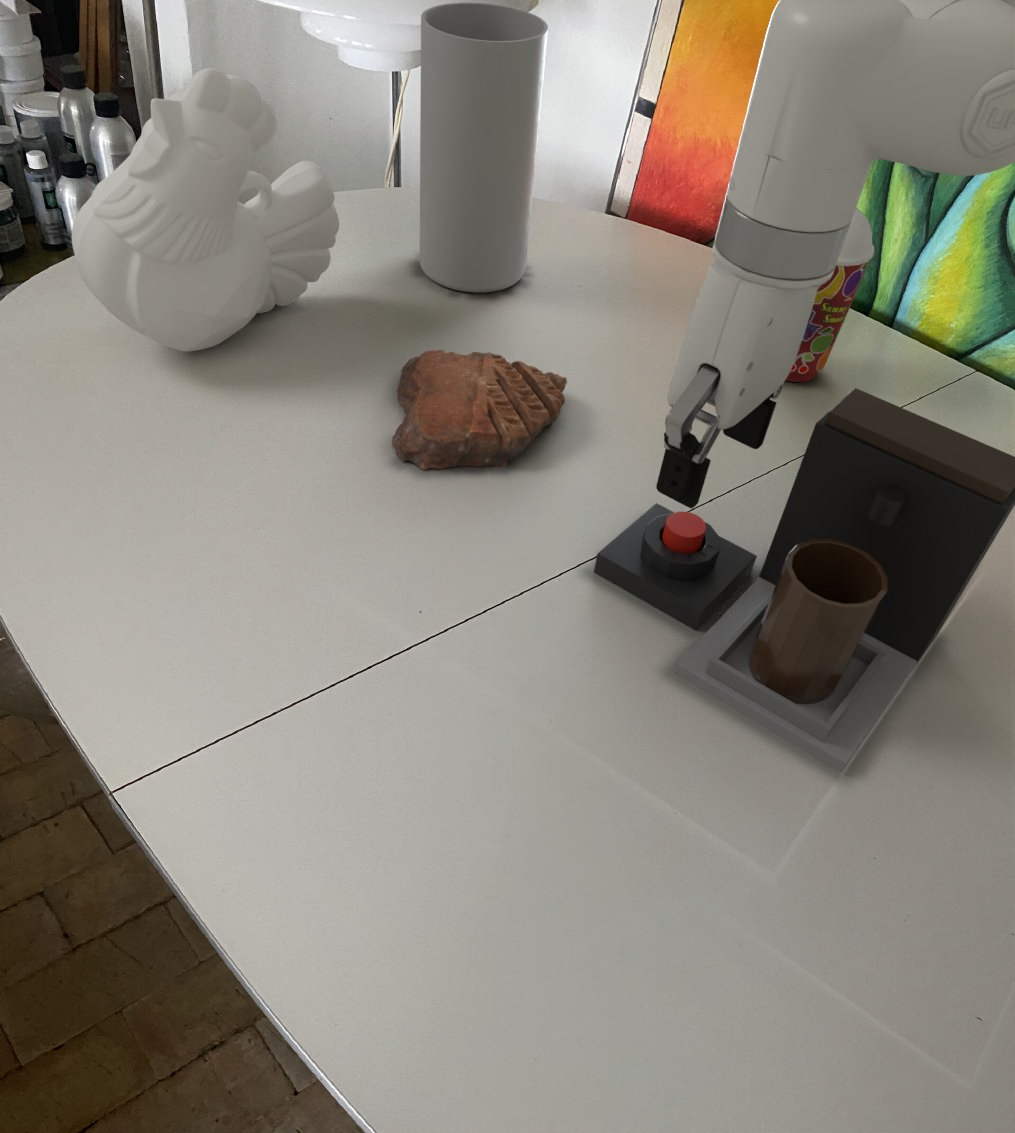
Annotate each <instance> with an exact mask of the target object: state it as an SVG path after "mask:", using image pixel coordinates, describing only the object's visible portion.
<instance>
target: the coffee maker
mask: <svg viewBox="0 0 1015 1133" xmlns="http://www.w3.org/2000/svg"><path fill="white" fill-rule="evenodd" d="M1014 508H1015V456H1014V455H1013V454H1012V455H1011V454H1010V453H1007V452H1006V451H1002V450H1000V449H998V448H996V447H994V446H991V445H988V444H986V443H984V442H982V441H980V440H977V439H975V438H972V437H970V436H968V435H967V434H966V435H965V434H963V433H961V432H958V431H956V430H954V429H951V428H949V427H947V426H945V425H942V424H940V423H937V422H935V421H934V420H931V419H929V418H927V417H924V416H921V415H919V414H917V413H915V412H912V411H910V410H907V409H905V408H903V407H902V406H898V405H896V404H893V403H891V402H889V401H887V400H884V399H882V398H880V397H877V396H875V395H873V394H871V393H869V392H866V391H864V390H861V389H859V388H857V387H854V388H853V389H852V390H851V391H849V393H847V394H846V395H845V396H843V397H842V398H841V399H840V400H839V401H838V402H837V403H836V404H835V405H834V406H833V407H832V408H830V410H829V411H828V412H826V413H825V414H824V415H822V417H821V418H820V419H819V420H818V421H816V423H815V425H814V428H813V430H812V432H811V436H810V438H809V441H808V443H807V447H806V449H805V451H804V454H803V457H802V459H801V463H800V465H799V468H798V470H797V473H796V475H795V478H794V481H793V484H792V487H791V488H790V492H789V495H788V498H787V500H786V503H785V506H784V509H783V511H782V514H781V517H780V519H779V522H778V525H777V527H776V530H775V533H774V536H773V538H772V540H771V544H770V546H769V548H768V552H767V554H766V557H765V560H764V563H763V565H762V568H761V570H760V573H759V576H758V577H757V578H756V579H755V580H754V581H753V582H752V583H751V585H749V587H748V588H747V589H745V591H744V592H743V593H742V594H741V595H740V596H739V597H738V598H737V599H736V600H735V601H734V603H732V604H731V606H730V607H729V608H728V609H727V610H726V611H725V612H724V613H723V614H722V615H721V616H720V618H718V619H717V620H716V621H715V622H714V624H713V625H712V626H711V627H709V629H708V630H706V632H705V633H704V634H703V635H702V636H701V637H700V638H699V639H698V640H697V641H696V642H695V644H693V646H692V647H691V648H690V649H689V650H688V651H687V652H686V653H685V654H684V655H683V656H682V657H681V658H680V659H679V661H678V662H677V663H676V666H675V668H674V674H675V675H677V676H678V677H680V678H682V679H684V680H685V681H687V682H688V683H690V684H691V685H693V686H695V687H697V688H698V689H700V690H702V691H704V692H705V693H706V694H708V695H711V697H714V698H715V699H717V700H718V701H720V702H722V703H723V704H725V705H727V706H728V707H729V708H732V709H733V710H735V711H737V712H739V713H741V714H742V715H744V716H746V717H747V718H748V719H750V720H752V721H754V722H756V723H757V724H759V725H761V726H762V727H764V728H765V729H767V730H768V731H771V732H772V733H774V734H776V735H777V736H779V737H780V738H782V739H784V740H786V741H787V742H789V743H791V744H792V745H794V746H795V747H798V748H799V749H800V750H802V751H804V752H806V753H807V754H809V755H811V756H812V757H814V758H816V759H818V760H819V761H821V762H822V763H824V764H826V765H828V766H829V767H831V768H833V769H834V770H836V771H837V772H839V773H843V771H844V770H845V768H846V767H847V766H848V764H850V761H851V760H852V758H853V757H854V756H855V754H856V753H857V751H858V750H859V748H860V747H861V746H862V745H863V743H864V741H866V738H867V737H868V735H869V734H870V732H871V731H872V730H873V728H874V727H875V725H876V724H877V723H878V721H879V720H880V718H881V717H882V715H883V714H884V713H885V711H886V709H887V708H888V707H889V705H890V704H891V702H892V701H893V699H894V698H895V697H896V695H897V694H898V692H899V691H900V689H901V688H902V687H903V685H904V684H905V683H906V681H907V679H908V678H909V677H910V675H911V674H912V672H913V671H914V669H915V668H916V666H917V665H918V663H919V662H920V661H921V660H922V658H923V657H924V655H925V653H926V652H927V651H928V649H929V648H930V646H931V645H932V643H934V641H935V639H936V638H937V636H938V634H939V633H940V631H941V630H942V628H943V626H944V624H945V623H946V622H947V619H948V618H949V616H950V614H951V613H952V611H953V609H954V608H955V606H956V604H957V603H958V601H959V600H960V598H961V596H962V595H963V593H964V591H965V589H966V587H967V586H968V585H969V582H970V581H971V580H972V577H973V576H974V574H975V572H976V571H977V570H978V568H979V566H980V564H981V562H982V561H983V559H984V558H985V556H986V554H987V552H988V551H989V549H990V548H991V546H992V544H993V542H994V541H995V540H996V537H997V536H998V534H999V533H1000V531H1001V529H1002V528H1003V526H1004V524H1005V523H1006V521H1007V519H1008V518H1009V516H1010V514H1011V513H1012V511H1013V509H1014ZM812 539H832V540H836V541H841V542H845V543H849V544H851V545H853V546H855V547H857V548H859V549H861V550H863V551H865V552H867V553H868V554H869V555H871V556H872V557H873V558H874V559H875V560H876V561H877V562H878V563H880V565H881V566H882V568H883V570H884V572H885V574H886V575H887V577H888V591H887V593H886V595H885V597H884V599H883V601H882V603H881V605H880V607H879V609H878V610H877V612H876V614H875V616H874V618H873V620H872V622H871V624H870V626H869V628H868V630H867V632H866V634H865V636H864V638H863V640H862V641H861V643H860V645H859V647H858V649H857V651H856V653H855V655H854V657H853V659H852V661H851V663H850V665H849V667H848V669H847V671H846V672H845V674H844V676H843V678H842V680H841V682H840V684H839V685H838V686H837V688H836V690H835V692H834V693H833V694H832V695H831V696H830V697H828V698H827V699H825V700H823V701H821V702H818V703H813V704H796V703H793V702H791V701H790V700H788V699H786V698H785V697H783V696H781V695H779V694H778V693H776V692H774V691H772V690H771V689H769V688H767V687H766V686H764V685H762V684H760V683H759V682H757V681H755V679H754V678H753V676H752V674H751V672H750V669H749V663H748V660H749V655H750V652H751V647H752V645H753V642H754V640H755V637H756V634H757V632H758V629H759V627H760V624H761V622H762V619H763V617H764V614H765V611H766V609H767V606H768V604H769V601H770V599H771V596H772V594H773V591H774V588H775V586H776V583H777V581H778V578H779V576H780V573H781V571H782V568H783V566H784V563H785V560H786V558H787V555H788V554H789V552H790V551H791V550H792V549H793V548H794V547H795V546H796V545H797V544H800V543H803V542H806V541H808V540H812Z"/></svg>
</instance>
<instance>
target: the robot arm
mask: <svg viewBox="0 0 1015 1133" xmlns="http://www.w3.org/2000/svg"><path fill="white" fill-rule="evenodd" d="M757 64H758V65H757V69H756V73H755V77H754V80H753V84H752V89H751V92H750V97H749V101H748V105H747V108H746V112H745V113H746V114H745V116H744V121H743V125H742V129H741V133H740V138H739V141H738V145H737V149H736V153H735V156H734V161H733V164H732V165H733V166H732V170H731V173H730V177H729V180H728V185H727V190H726V194H725V197H724V201H723V205H722V209H721V213H720V216H719V219H718V220H719V221H718V225H717V229H716V232H715V236H714V241H713V245H712V249H711V251H712V255H713V257H714V262H712V263H711V265H710V267H709V270H708V271H707V272H708V273H707V274H706V277H705V279H704V281H703V284H702V286H701V288H700V291H699V294H698V295H697V299H696V301H695V304H694V307H693V310H692V313H691V316H690V318H689V322H688V324H687V328H686V331H685V334H684V338H683V340H682V344H681V348H680V349H679V354H678V357H677V360H676V364H675V368H674V370H673V375H672V378H671V382H670V384H669V389H668V393H667V403H668V406H669V407H671V408H670V410H669V411H668V413H667V414H666V416H665V420H664V426H665V432H664V433H663V437H664V438H663V441H664V444H663V447H664V454H663V458H662V461H661V465H660V469H659V474H658V477H657V481H656V486H655V488H656V490H657V492H659V493H660V494H662V495H664V496H666V497H667V498H669V499H672V501H675V502H677V503H679V504H681V505H683V506H685V507H687V508H689V509H694V508H695V507H696V506H697V505H698V504H699V501H700V497H701V495H702V491H703V488H704V485H705V481H706V477H707V474H708V471H709V468H710V465H711V462H712V459H710V458H708V457H707V456H708V454H709V453H710V451H711V450H712V448H713V446H714V444H715V442H716V440H717V438H718V437H719V435H720V433H721V431H722V433H723V435H724V436H726V437H727V438H730V439H733V440H734V441H736V442H738V443H741V444H743V445H744V446H747V447H749V448H751V449H753V450H758V449H760V448H761V447H762V446H763V444H764V441H765V438H766V435H767V432H768V429H769V426H770V424H771V421H772V419H773V415H774V412H775V409H776V406H777V403H778V402H777V401H775V400H777V399H778V398H779V397H780V395H781V393H782V391H783V388H784V382H785V381H786V380H785V379H786V378H787V376H788V375H789V373H790V371H791V368H792V366H793V364H794V361H795V359H796V356H797V353H798V351H799V348H800V345H801V342H802V339H803V336H804V333H805V330H806V327H807V324H808V321H809V317H810V314H811V311H812V307H813V304H814V300H815V297H816V293H817V290H818V286H820V285H822V284H824V283H826V282H827V281H828V280H830V279H831V277H832V275H833V273H834V270H835V267H836V264H837V261H838V258H839V255H840V252H841V250H842V247H843V244H844V241H845V238H846V235H847V233H848V230H849V227H850V224H851V221H852V218H853V215H854V212H855V210H856V208H858V204H859V201H860V198H861V195H862V193H863V190H864V188H865V183H866V181H867V178H868V175H869V173H870V170H871V168H872V165H873V162H874V161H876V160H884V161H888V162H893V163H897V164H901V165H904V166H905V165H906V166H910V167H914V168H917V169H921V170H925V171H929V172H933V173H938V174H942V175H949V176H959V177H970V176H978V175H984V174H989V173H992V172H996V171H999V170H1001V169H1003V168H1006V167H1008V166H1010V165H1012V164H1014V163H1015V0H778V2H777V3H776V6H774V9H773V11H772V13H771V16H770V20H769V23H768V26H767V30H766V33H765V37H764V41H763V45H762V49H761V52H760V57H759V61H758V63H757ZM706 403H707V404H709V405H711V406H713V407H715V408H714V409H715V414H716V415H714V414H712V413H709V412H708V411H705V410H704V409H703V408H704V407H705V405H706ZM695 420H697V421H698V422H700V423H703V424H704V425H707V426H708V427H707V429H706V430H705V432H704V434H703V436H702V438H701V439H700V441H699V439H698V438H697V437H696V435H695V434H692V433H691V431H692V430H693V424H694V421H695Z"/></svg>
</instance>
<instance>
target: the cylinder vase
mask: <svg viewBox="0 0 1015 1133" xmlns="http://www.w3.org/2000/svg"><path fill="white" fill-rule="evenodd" d="M548 31H549V26H548V24H547V22H546V21H545V20H544V19H543V18H541V17H540V16H538V15H536V14H534V13H532V12H529V11H527V10H523V9H520V8H517V7H512V6H509V5H508V6H507V5H503V4H495V3H489V2H488V3H485V2H450V3H443V4H438V5H434V6H431V7H429V8H427V9H425V10H424V11H423V12H422V13H421V15H420V117H419V118H420V120H419V122H420V124H419V126H420V127H419V129H420V130H419V141H420V142H419V264H420V267H421V270H422V271H423V273H424V274H425V275H426V276H427V277H428V278H429V279H430V280H432V281H433V282H435V283H437V284H438V285H440V286H443V287H445V288H447V289H448V288H449V289H450V290H455V291H459V292H464V293H465V292H466V293H491V292H492V293H493V292H498V291H501V290H505V289H508V288H510V287H512V286H513V285H515V284H517V283H518V282H519V281H520V280H521V279H522V278H523V276H524V275H525V272H526V269H527V260H528V248H529V238H530V230H531V229H530V228H531V227H530V226H531V219H532V218H531V217H532V207H533V206H532V205H533V197H534V196H533V194H534V185H535V175H536V174H535V172H536V163H537V162H536V161H537V150H538V140H539V139H538V138H539V129H540V118H541V107H542V98H543V88H544V85H543V84H544V76H545V75H544V74H545V65H546V64H545V63H546V54H547V42H548Z"/></svg>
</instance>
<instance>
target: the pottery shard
mask: <svg viewBox="0 0 1015 1133" xmlns="http://www.w3.org/2000/svg"><path fill="white" fill-rule="evenodd" d="M400 372H401V374H400V377H399V384H398V387H397V389H396V393H397V400H398V404H399V405H400V406H401V407H402V410H403V412H404V414H405V415H404V418H403V420H402V421H401V423H400V424H399V425H398V427H397V428H396V429H395V432H394V435H393V436H392V438H391V446H392V448H393V449H394V450H395V455H396V456H398V459H400V461H402V462H407V461H408V462H411V463H413V464H414V465H416V466H417V467H418V468H419V469H420V470H422V471H428V470H429V469H436V470H444V469H446V468H455V467H457V466H464V467H477V468H480V467H487V466H488V467H489V466H497V467H501V468H503V467H507V465H508V462H509V460H511V459H515V458H517V457H518V456H519V455H521V454H523V452H524V451H525V450H526V449H527V448H528V447H529V446H530V445H531V444H532V443H533V441H534V438H536V437H538V435H539V434H541V432H542V431H543V428H545V427H546V426H548V425H552V424H553V423H554V422H555V421H556V420H557V417H558V415H559V414H560V413H561V411H562V408H563V406H564V405H565V403H566V399H565V398H566V397H565V395H564V394H563V392H564V391H565V389H566V386H567V384H568V378H567V377H566V376H561V375H559V374H558V373H556V374H555V373H554V372H551V371H549V372H545V373H543V371H542V370H540V369H539V368H538V367H536V366H533V365H527V364H526V363H524V362H523V361H521V360H516V361H513V362H511V363H510V362H509V361H507V360H506V358H505V357H503V356H502V355H501V354H495V353H493V352H485V353H484V352H478V351H472V352H470V353H468V354H462V353H457V352H454V351H450V352H446V351H445V350H443V349H438V350H437V349H436V350H435V349H432V350H426V351H424V352H422V354H420V355H419V356H415V357H412V358H410V359H409V360H408V361H407V362H406V363H405V365H403V366H402V369H401V371H400Z"/></svg>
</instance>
